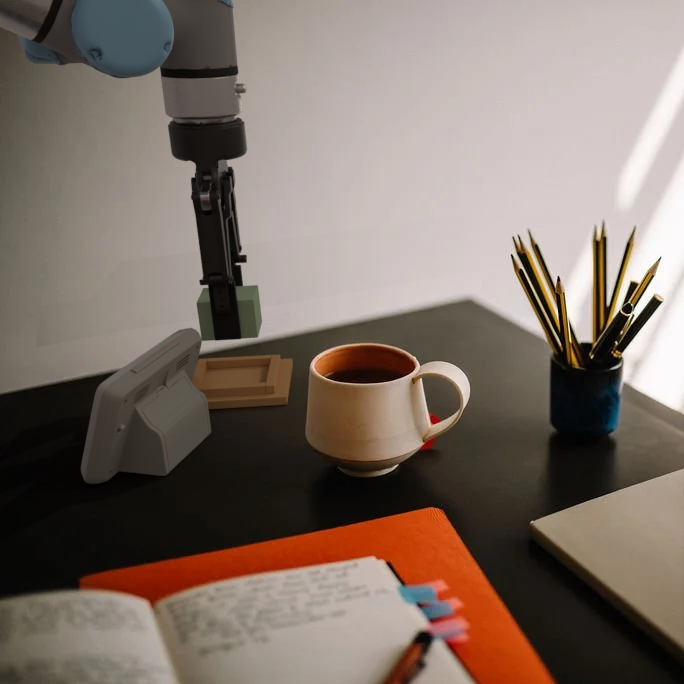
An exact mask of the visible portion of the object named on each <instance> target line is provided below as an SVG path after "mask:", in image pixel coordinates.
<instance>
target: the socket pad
mask: <svg viewBox="0 0 684 684" xmlns="http://www.w3.org/2000/svg"><path fill="white" fill-rule="evenodd" d="M293 368H294V360H293V358H292V357H291V358H281V354H265V355H264V354H263V355H262V354H261V355H245V356H244V355H243V356H226V357H208V358H198V361H197V365H196V369H195V373H194V377H193V381H192V384H193V385H194V386H195V387H196V389H197V390H199V391H201V392H202V393H204V394H205V396H206V399H207V403H208V410H221V409H222V410H223V409H224V410H225V409H237V408H255V407H269V406H270V407H271V406H286V405H288V402H289V400H288V399H289V395H290V388H291V383H292V382H291V380H292V376H293V375H292V374H293Z"/></svg>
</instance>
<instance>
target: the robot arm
mask: <svg viewBox="0 0 684 684" xmlns="http://www.w3.org/2000/svg"><path fill="white" fill-rule="evenodd" d="M0 28H1V29H3V30H5V31H8V32H11V33H13V34H15V35H17V39H18V43H19V46H20V49H21V51H22V53H23V55H24V57H25V58H26V59H27V60H28V61H29V62H30V63H33V64H37V65H57V66H66V65H68V64H69V65H70V64H84V65H87V66H88V67H91V68H93V69H94V70H96V71H98V72H100V73H102V74H104V75H107V76H109V77H112V78H115V79H130V78H140V77H142V76H146V75H148V74H151V73H153V72H155V71H156V70H157V69H160V70H159V71H160V82H161V89H162V97H163V104H164V111H165V112H164V113H165V115H167V117H169V118H172V120H170V122H169V123H168V124H167V130H168V137H169V143H170V151H171V155H172V156H173V158H175V159H176V160H178V161H183V162H192V163H194V165H195V172H194V177H191V178H190V187H191V194H190V199H191V202H192V206H193V211H194V215H195V224H196V232H197V239H198V247H199V253H200V263H201V270H202V271H201V272H202V279H199V285H200V286H207V288H208V289H209V297H210V305H211V313H212V320H213V328H214V336H215V340H214V341H215V342H217V341H233V340H242V339H241V329H240V320H239V312H238V303H237V294H236V286H244V281H243V273H242V272H243V271H242V265H241V264H247V263H248V255H247V254H241V253H242V250H243V246H242V245H241V237H240V236H241V235H240V226H239V218H238V210H237V199H236V193H235V191H236V190H235V185H236V176H235V170H234V168H233V166H228V161H231V160H235V159H239V158H242V157H243V156H244V155H246V154H247V151H248V146H247V144H248V143H247V135H246V125H245V124H246V123H245V121H243V119H242V118H241V117H238V116H239V115H241V113H242V112H243V102H242V96H241V94H245V93H247V92H248V88H247V86H246V84H245V83H242V82H241V83H238V81H239V80H240V76H239V66H238V54H237V44H236V33H235V32H236V31H235V19H234V3H233V0H0Z"/></svg>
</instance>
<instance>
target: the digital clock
mask: <svg viewBox="0 0 684 684" xmlns="http://www.w3.org/2000/svg"><path fill="white" fill-rule="evenodd" d="M202 343H203V341H202V338H201V333H199V331H198V329H195V328H193V327H188V328H182V329H178V330H176V331H175V332H173V333H172V334H170V335H169V336H168V337H166V338H164V339H163V340H162V341H160V342H159V343H157V344H155V345H154V346H152V347H151V348H150V349H148V350H146V351H145V352H144V353H142V354H141V355H139V356H138V357H136V358H135V359H134V360H132V361H131V362H129V363H128V364H126V365H125V366H124V367H122V368H121V369H118V371H115V373H113V374H112V375H110V376H109V377H108V378H106V379H104V380H103V381H102V382H101V383H100V384H99V385H98V386H97V387H96V391H95V392H94V393H95V394H94V398H93V403H92V407H91V412H90V416H89V417H90V418H89V423H88V428H87V432H86V439H85V444H84V449H83V453H82V459H81V464H80V473H81V476H82V478H83V481H84V482H85V483H86V484H89V485H98V484H103V483H106V482H108V481H109V480H110V479H112V478H113V477H114V476H115V475H116V474H118V473H119V472H121V473H122V472H123V473H130V474H131V473H132V474H140V475H150V476H157V477H158V476H159V477H166V476H167V475H169V473H171V471H173V470H174V469H175V468H176V467H177V466H178V465H179V464H180V463H182V461H183V460H184V459H186V457H187V456H189V455H190V454H191V453H192V452H193V451H194V450H195V449H196V448H197V447H198V446H199V445H201V443H203V441H204V440H205V439H206V438H208V437H209V436H210V435H211V434H212V425H211V419H210V411H209V410H210V409H208V403H207V399H206V396H205V394H204V393H202V392H201V391H199V390H197V389H196V387H195V386H194V385H193V384H192V381H193V377H194V373H195V369H196V365H197V362H198V360H199V356H200V353H201V348H202Z"/></svg>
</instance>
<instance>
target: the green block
mask: <svg viewBox="0 0 684 684" xmlns="http://www.w3.org/2000/svg"><path fill="white" fill-rule="evenodd" d="M236 294H237V303H238V312H239V320H240V329H241V339H240V340H242V339H258V338H259V335H260V331H261V327H262V324H263V317H262V307H261V301H260V299H261V298H260V291H259V285H258V284H253V285H243V286H236ZM196 309H197V316H198V323H199V330H200V336H201V339H202V342H209V341H215V336H214V328H213V320H212V313H211V305H210V297H209V289H208V287H203V288H202V290H201V292H200V295H199V297H198V299H197V300H196Z"/></svg>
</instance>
